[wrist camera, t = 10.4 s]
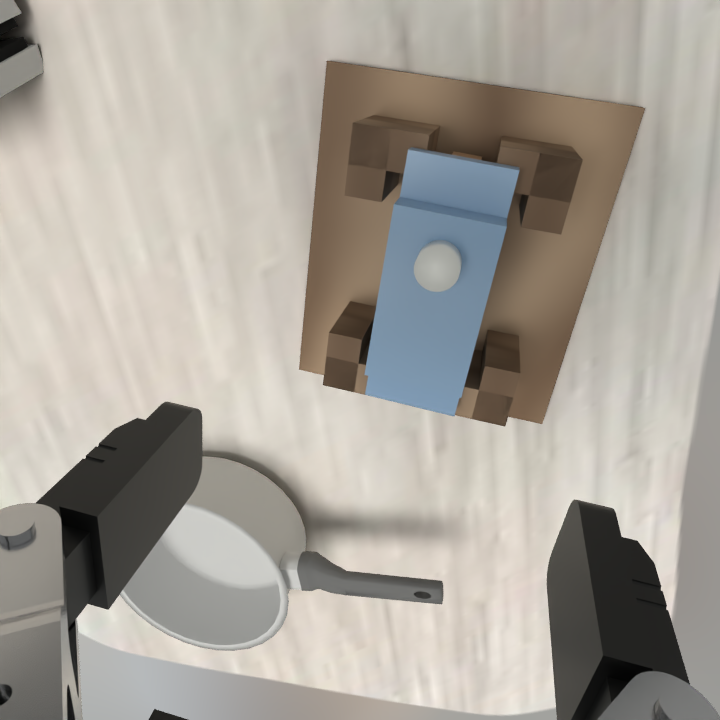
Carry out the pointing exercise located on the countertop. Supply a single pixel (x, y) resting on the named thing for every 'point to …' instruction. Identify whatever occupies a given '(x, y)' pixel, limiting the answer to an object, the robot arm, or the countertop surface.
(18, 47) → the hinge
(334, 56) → the countertop surface
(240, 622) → the saucepan
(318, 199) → the cradle
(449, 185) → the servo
